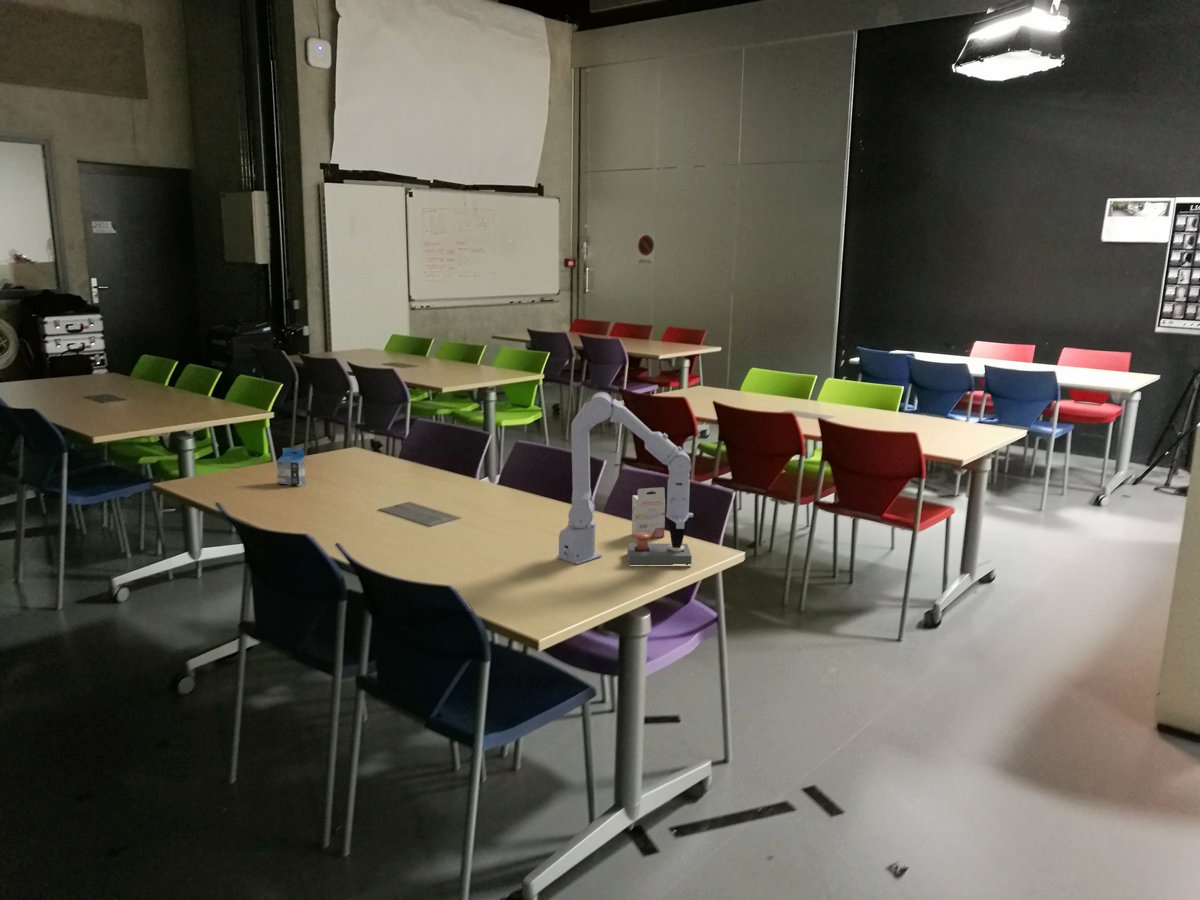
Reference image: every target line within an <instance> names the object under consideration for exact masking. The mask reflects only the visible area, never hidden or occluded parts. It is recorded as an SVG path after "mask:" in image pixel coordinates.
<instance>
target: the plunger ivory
mask: <svg viewBox="0 0 1200 900" xmlns="http://www.w3.org/2000/svg"><path fill="white" fill-rule="evenodd" d="M670 544H671V545H669V546H668V549H669V550H670V552H682V551H683V550H684V549H685V547H684V546H683V545H681V548H673V547H672V543H670Z"/></svg>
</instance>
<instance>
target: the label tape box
mask: <svg viewBox="0 0 1200 900" xmlns="http://www.w3.org/2000/svg"><path fill="white" fill-rule="evenodd" d="M305 463H306V462H305V452H304V449H298V448H289V447H288V448H287V447H282V455H281V456H280V457H279V458H278V459H277V460H276V472H277V474H276V475H277V484H278V483H279V484H288V485H287V486H290V485H295V486H294V487H301V486H300V485H303V484H305V485H306V469H305V467H306V466H305ZM279 484H278V485H279ZM303 486H304V485H303Z"/></svg>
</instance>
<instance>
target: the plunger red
mask: <svg viewBox="0 0 1200 900" xmlns="http://www.w3.org/2000/svg"><path fill="white" fill-rule="evenodd" d="M633 537H634V538H635V539H636V543H637V545H636V549H638V550H647V549H648V543H649V539H652V538H651V534H649V533H646V532H638V533H635V534H634V536H633Z"/></svg>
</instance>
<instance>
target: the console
mask: <svg viewBox="0 0 1200 900" xmlns="http://www.w3.org/2000/svg"><path fill="white" fill-rule="evenodd" d="M671 544H672V543H660V542H659V543H654V542H653V543H651V542H650V543H649V542H648V549H647V550H638V549H636V545H637V542H636V543H635V542H628V543H627V558H629V560H628V566H629V565H673V564H686V565H688V564H691V565H692V557H693V556H692V553H691V551H690V548H689V546H688V543H682V545H683V546H684V547H685V549H684V550H683V551H682V552H670V550H669V549H668V546H669V545H671Z"/></svg>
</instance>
